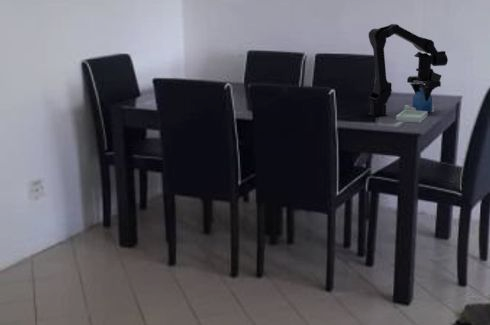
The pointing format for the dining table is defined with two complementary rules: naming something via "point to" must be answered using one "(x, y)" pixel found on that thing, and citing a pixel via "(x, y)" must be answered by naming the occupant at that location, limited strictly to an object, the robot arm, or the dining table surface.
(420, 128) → the dining table surface
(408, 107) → the bay
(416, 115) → the tray
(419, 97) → the perfume bottle
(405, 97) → the dining table surface
